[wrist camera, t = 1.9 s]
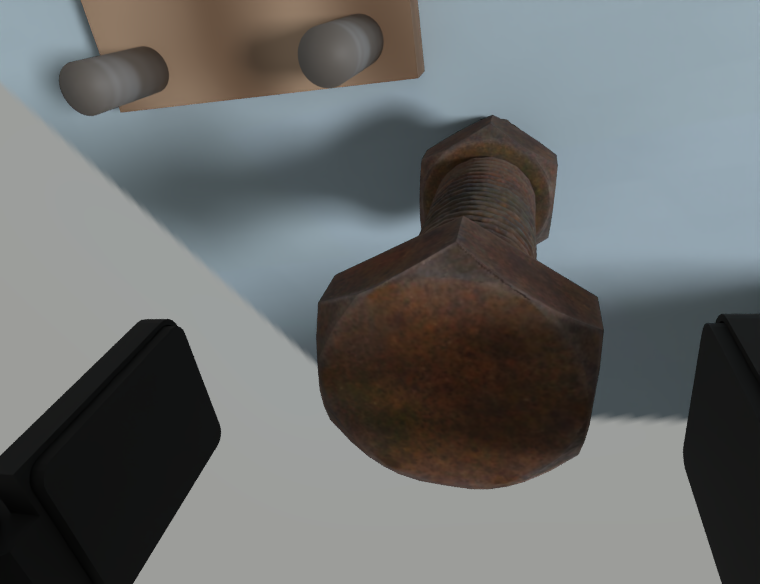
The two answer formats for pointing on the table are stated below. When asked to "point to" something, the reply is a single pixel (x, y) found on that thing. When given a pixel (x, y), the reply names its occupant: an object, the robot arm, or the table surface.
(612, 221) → the table surface
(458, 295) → the bolt
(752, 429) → the robot arm
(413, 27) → the peg holder
